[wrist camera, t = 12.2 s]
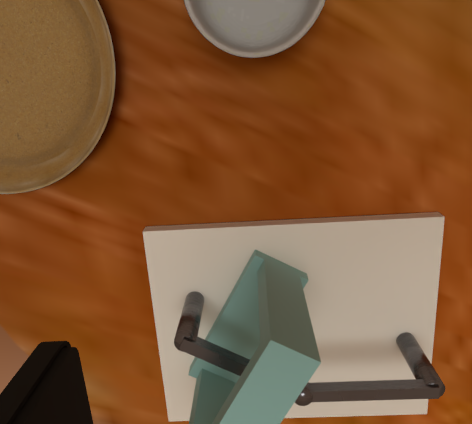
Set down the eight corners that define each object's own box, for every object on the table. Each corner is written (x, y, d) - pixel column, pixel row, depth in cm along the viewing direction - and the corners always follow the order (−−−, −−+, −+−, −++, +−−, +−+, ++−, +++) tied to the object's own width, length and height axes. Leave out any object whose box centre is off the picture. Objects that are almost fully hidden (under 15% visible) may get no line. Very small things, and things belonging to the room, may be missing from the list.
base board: (438, 212, 44) (444, 216, 43) (422, 404, 51) (426, 413, 50) (145, 226, 45) (142, 231, 44) (170, 411, 53) (168, 421, 51)
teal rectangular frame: (306, 273, 45) (333, 368, 31) (237, 386, 50) (233, 514, 35) (255, 249, 44) (257, 334, 30) (190, 366, 49) (165, 487, 35)
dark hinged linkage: (416, 333, 47) (451, 387, 39) (402, 371, 48) (432, 430, 40) (187, 289, 46) (174, 334, 38) (180, 329, 48) (166, 380, 40)
